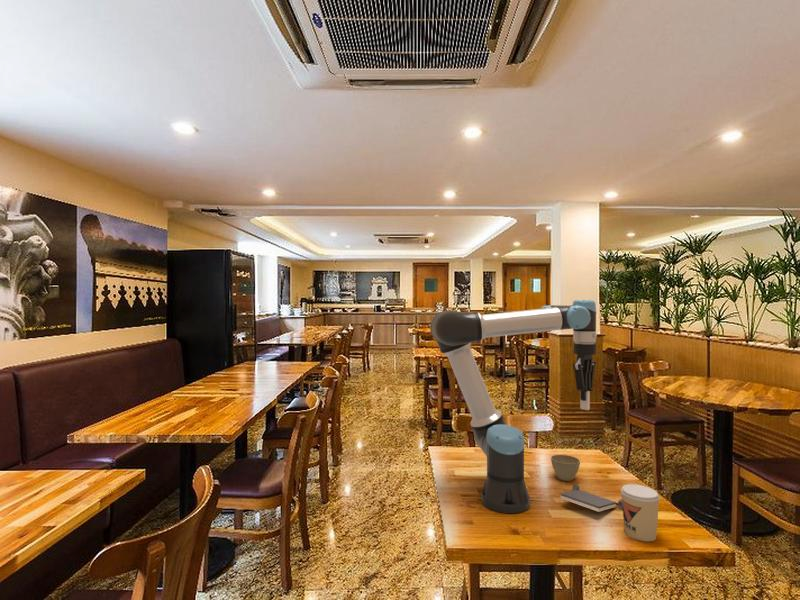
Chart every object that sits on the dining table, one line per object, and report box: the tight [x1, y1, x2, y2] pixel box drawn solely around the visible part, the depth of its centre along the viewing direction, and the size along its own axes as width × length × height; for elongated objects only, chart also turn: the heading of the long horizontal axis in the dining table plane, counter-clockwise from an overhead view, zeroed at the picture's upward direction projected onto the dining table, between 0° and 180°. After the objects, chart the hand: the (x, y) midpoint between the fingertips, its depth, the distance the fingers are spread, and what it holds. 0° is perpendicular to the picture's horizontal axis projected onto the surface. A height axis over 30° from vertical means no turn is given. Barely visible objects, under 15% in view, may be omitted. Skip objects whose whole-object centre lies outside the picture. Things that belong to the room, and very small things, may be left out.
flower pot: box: [550, 454, 581, 482], centre depth 159 cm, size 10×10×7 cm
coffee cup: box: [620, 484, 660, 542], centre depth 121 cm, size 9×9×12 cm
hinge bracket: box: [571, 484, 623, 511], centre depth 141 cm, size 2×17×2 cm, turn 41°
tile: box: [560, 489, 617, 513], centre depth 137 cm, size 12×12×2 cm
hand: (585, 409), depth 155 cm, fingers closed
